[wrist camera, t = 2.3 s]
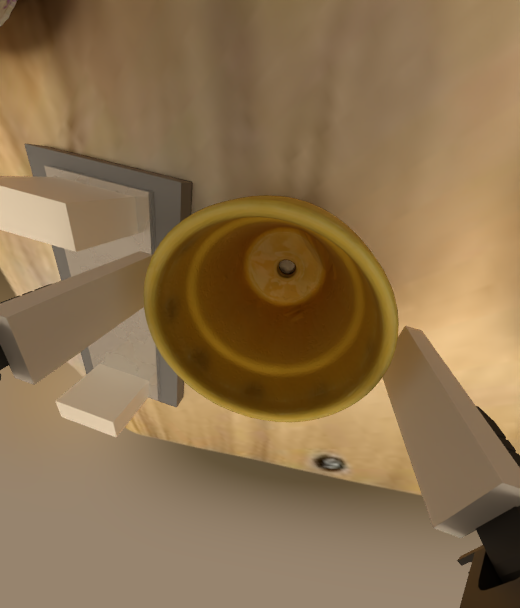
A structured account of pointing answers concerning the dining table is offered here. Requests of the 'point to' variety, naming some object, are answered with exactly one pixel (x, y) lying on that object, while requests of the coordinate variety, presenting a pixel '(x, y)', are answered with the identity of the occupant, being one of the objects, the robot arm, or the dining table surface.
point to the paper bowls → (6, 9)
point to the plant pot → (271, 309)
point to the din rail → (133, 331)
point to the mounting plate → (168, 213)
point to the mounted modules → (77, 236)
